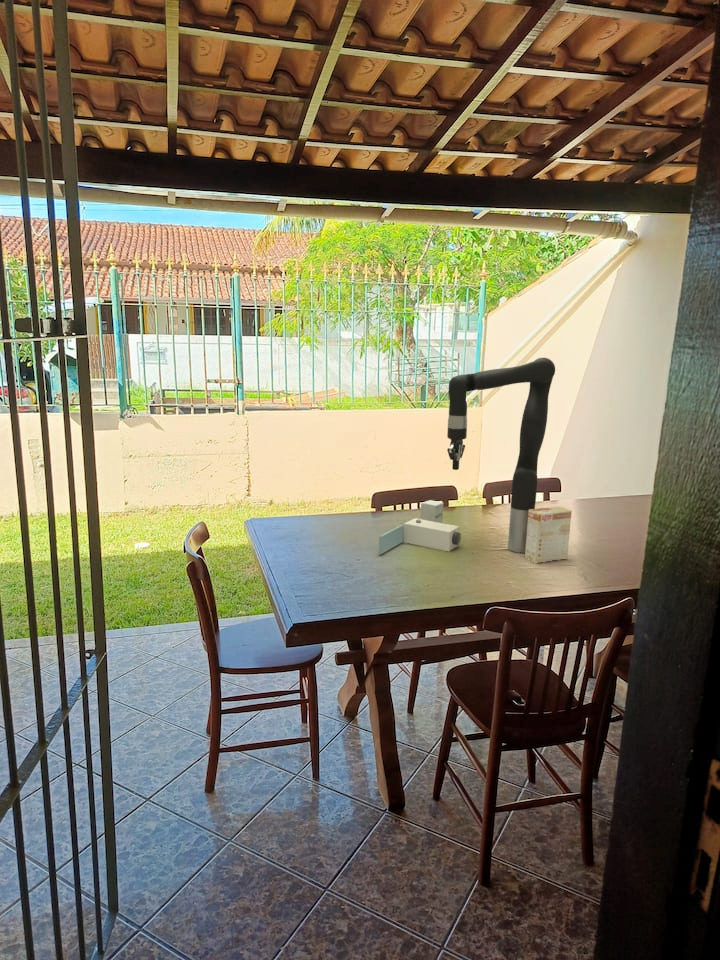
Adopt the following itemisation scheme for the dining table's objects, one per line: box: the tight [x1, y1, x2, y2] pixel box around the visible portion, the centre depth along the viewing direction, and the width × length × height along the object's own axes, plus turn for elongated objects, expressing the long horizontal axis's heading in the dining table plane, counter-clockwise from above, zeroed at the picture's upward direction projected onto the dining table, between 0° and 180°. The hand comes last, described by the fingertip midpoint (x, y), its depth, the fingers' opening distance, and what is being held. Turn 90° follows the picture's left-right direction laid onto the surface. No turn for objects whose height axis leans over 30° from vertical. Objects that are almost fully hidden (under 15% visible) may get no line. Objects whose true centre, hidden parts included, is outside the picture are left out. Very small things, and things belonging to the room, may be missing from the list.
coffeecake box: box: [524, 505, 573, 564], centre depth 236 cm, size 15×7×20 cm, turn 111°
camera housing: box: [403, 517, 462, 553], centre depth 252 cm, size 22×9×9 cm, turn 58°
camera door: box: [378, 523, 405, 555], centre depth 245 cm, size 19×1×7 cm, turn 149°
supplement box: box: [419, 499, 444, 523], centre depth 270 cm, size 7×7×13 cm
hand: (455, 469), depth 250 cm, fingers closed
